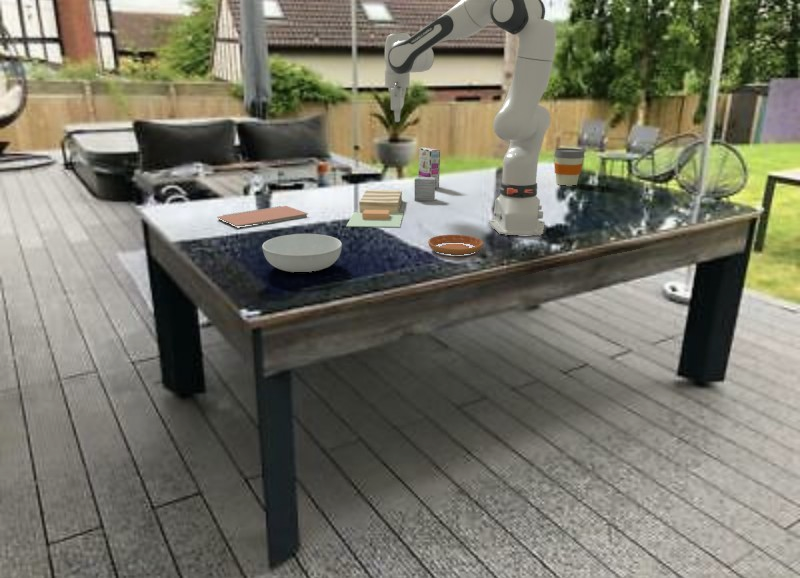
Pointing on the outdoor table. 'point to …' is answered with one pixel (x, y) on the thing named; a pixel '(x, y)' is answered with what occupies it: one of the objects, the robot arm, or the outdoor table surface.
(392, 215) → the mat
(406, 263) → the outdoor table surface
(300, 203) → the outdoor table surface
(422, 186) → the medicine box
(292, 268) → the serving bowl
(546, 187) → the outdoor table surface
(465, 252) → the saucer
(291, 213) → the notebook
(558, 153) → the reusable coffee cup
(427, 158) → the candy bar box
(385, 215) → the orange rectangular block
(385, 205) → the plate
